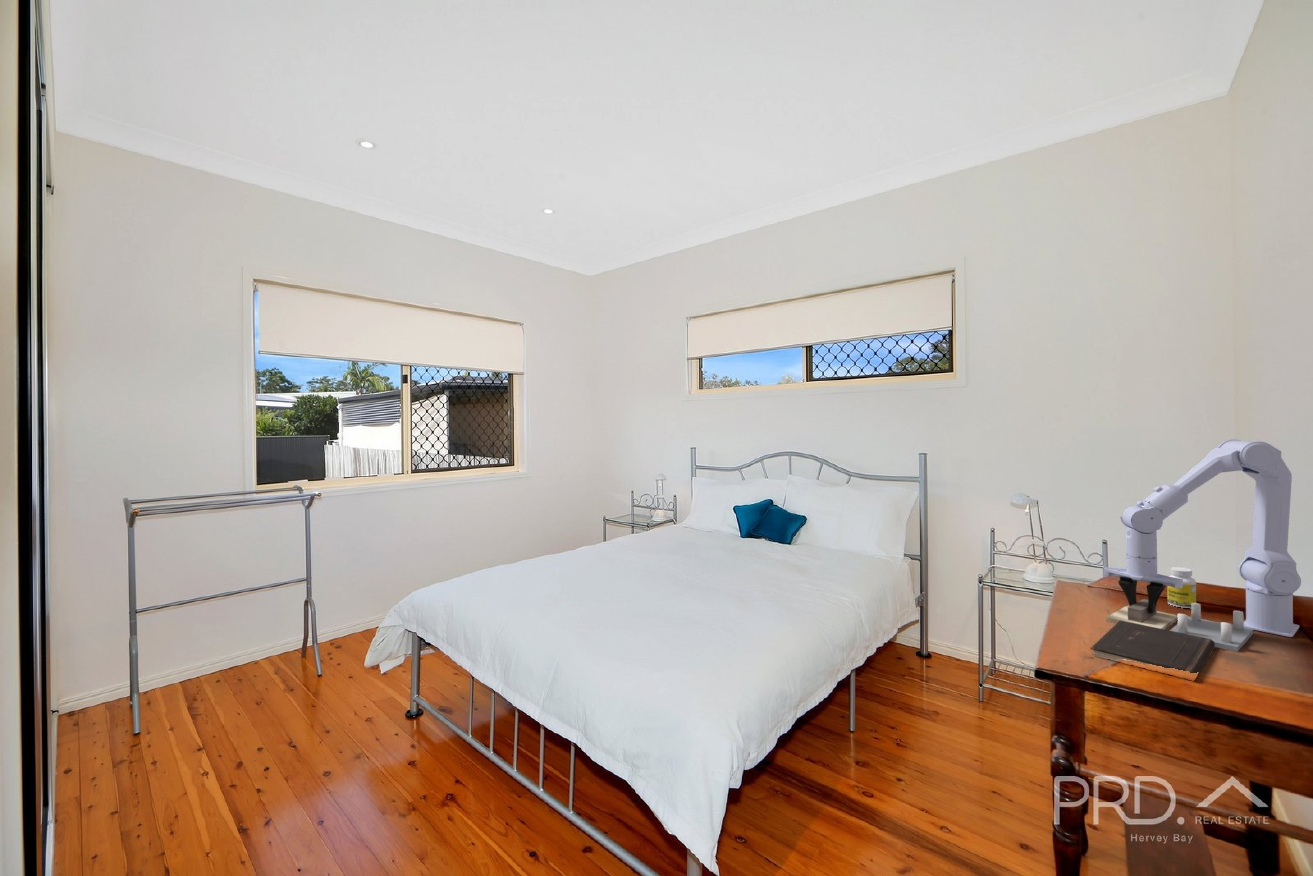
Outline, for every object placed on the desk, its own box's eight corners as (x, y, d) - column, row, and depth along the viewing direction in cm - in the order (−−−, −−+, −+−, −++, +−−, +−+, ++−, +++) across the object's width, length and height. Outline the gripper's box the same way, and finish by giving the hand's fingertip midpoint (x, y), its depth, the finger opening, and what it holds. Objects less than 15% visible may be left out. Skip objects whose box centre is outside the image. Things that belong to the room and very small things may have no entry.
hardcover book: (1090, 658, 117) (1090, 647, 117) (1120, 629, 131) (1119, 620, 131) (1194, 685, 104) (1194, 673, 104) (1214, 650, 118) (1214, 639, 118)
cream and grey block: (1127, 610, 142) (1127, 593, 142) (1179, 621, 134) (1179, 603, 134) (1106, 623, 135) (1105, 605, 135) (1159, 635, 126) (1158, 616, 126)
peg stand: (1187, 620, 133) (1187, 600, 133) (1253, 633, 124) (1253, 612, 124) (1168, 636, 125) (1167, 614, 125) (1237, 651, 116) (1237, 628, 115)
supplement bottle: (1163, 604, 144) (1162, 568, 143) (1173, 601, 146) (1173, 565, 146) (1190, 611, 139) (1189, 573, 138) (1200, 607, 141) (1200, 569, 141)
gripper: (1098, 553, 138) (1099, 606, 138) (1176, 564, 125) (1177, 622, 126) (1109, 548, 141) (1110, 600, 142) (1185, 559, 129) (1186, 615, 130)
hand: (1142, 610), depth 134 cm, fingers open, 3 cm apart
